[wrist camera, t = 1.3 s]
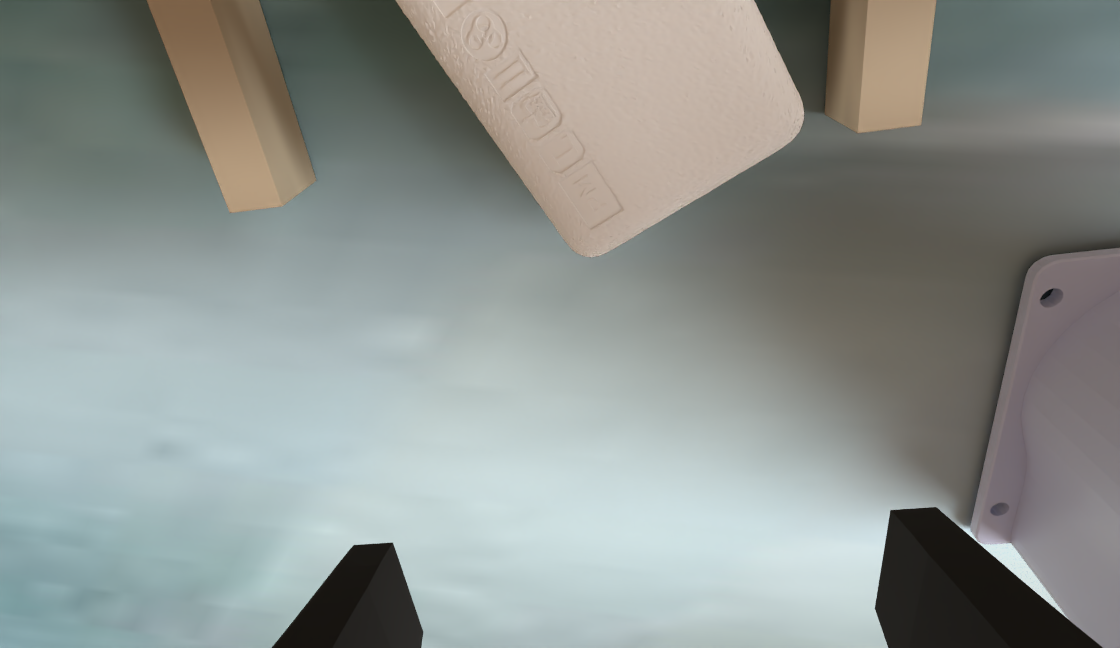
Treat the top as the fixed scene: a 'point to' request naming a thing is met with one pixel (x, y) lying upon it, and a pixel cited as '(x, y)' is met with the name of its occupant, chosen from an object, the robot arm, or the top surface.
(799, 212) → the top surface
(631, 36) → the soap
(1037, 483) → the robot arm
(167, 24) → the slot
